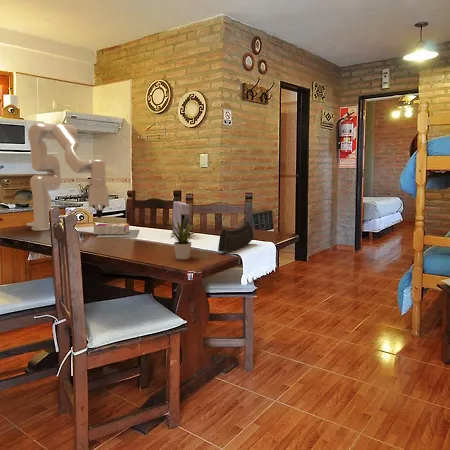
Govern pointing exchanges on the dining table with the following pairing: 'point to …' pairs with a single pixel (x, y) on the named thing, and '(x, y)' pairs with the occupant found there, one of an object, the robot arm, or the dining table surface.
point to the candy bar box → (111, 229)
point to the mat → (129, 235)
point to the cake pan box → (180, 215)
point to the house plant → (182, 241)
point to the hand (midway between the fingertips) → (99, 217)
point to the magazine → (235, 238)
